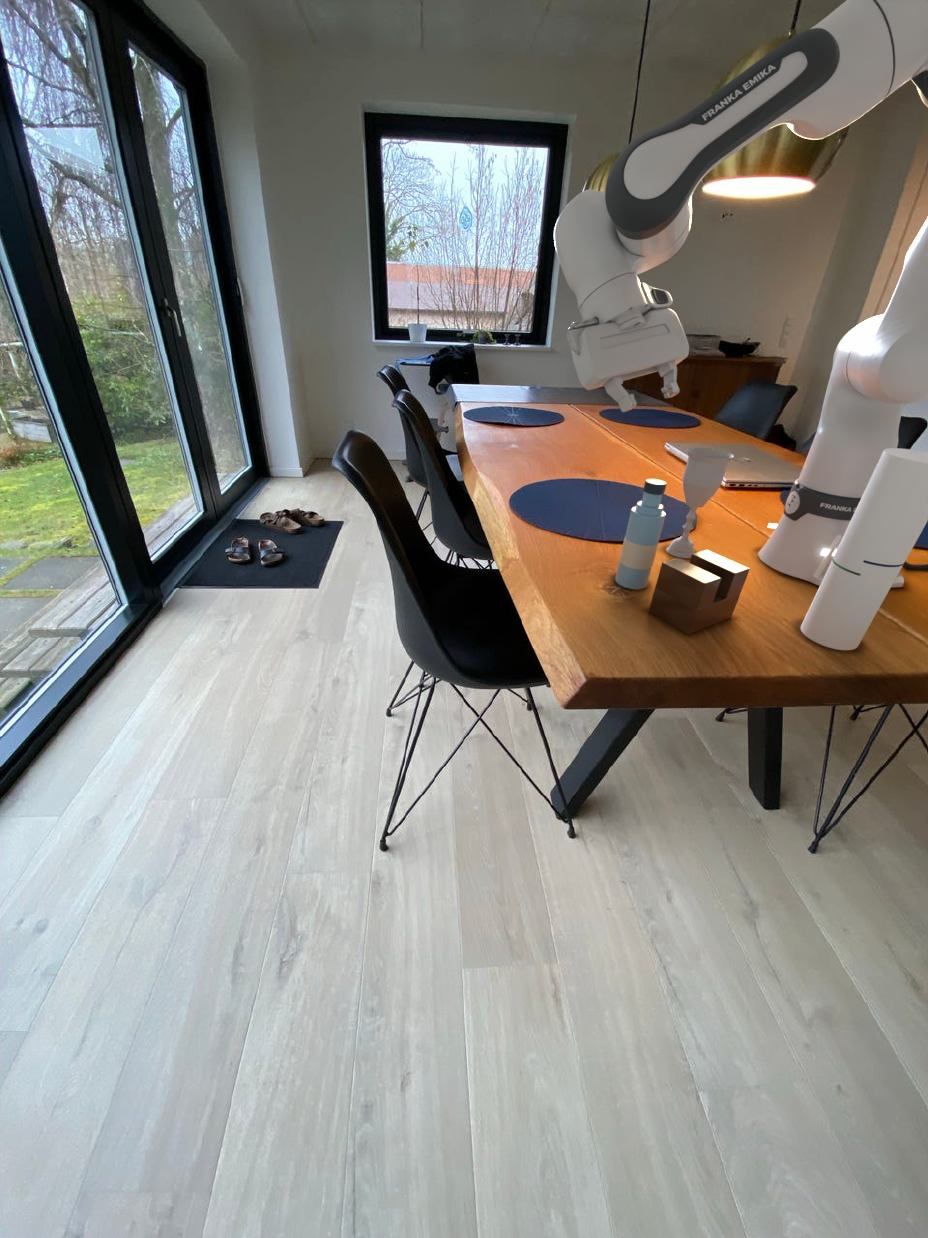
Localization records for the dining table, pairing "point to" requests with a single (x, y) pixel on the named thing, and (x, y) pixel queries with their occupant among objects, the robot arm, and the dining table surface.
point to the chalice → (699, 490)
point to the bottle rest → (697, 591)
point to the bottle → (642, 537)
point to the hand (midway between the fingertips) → (652, 402)
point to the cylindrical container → (871, 550)
